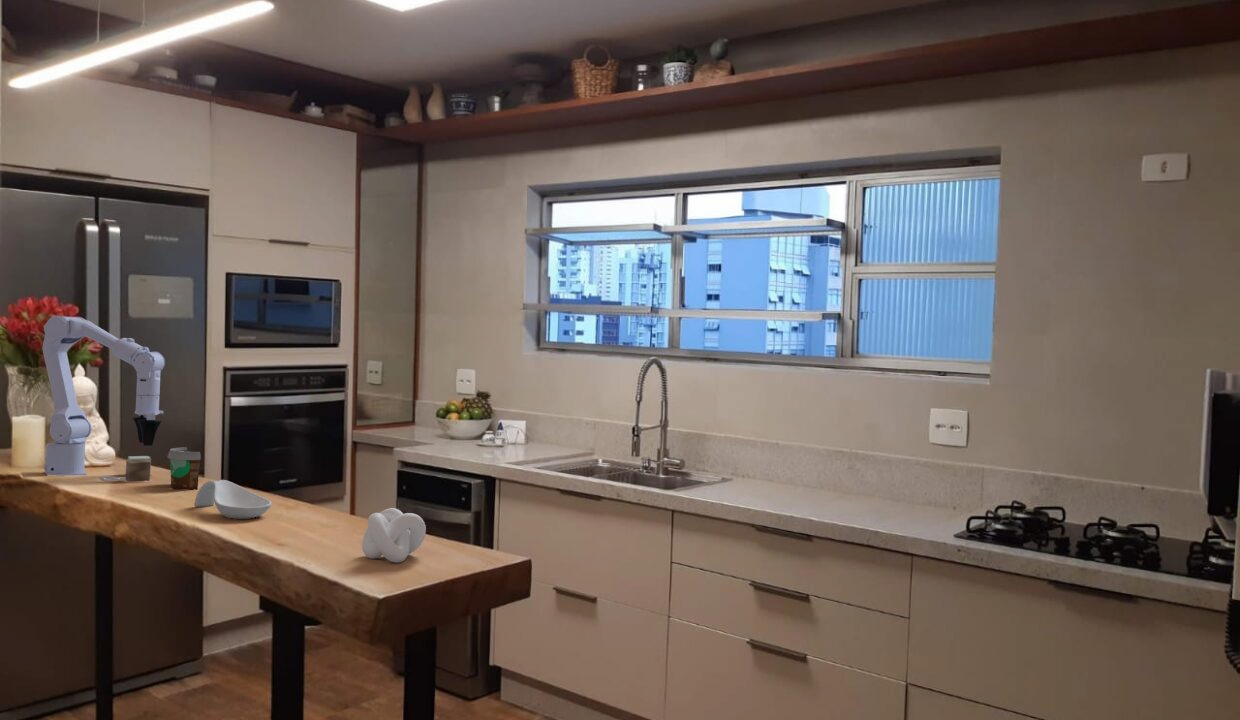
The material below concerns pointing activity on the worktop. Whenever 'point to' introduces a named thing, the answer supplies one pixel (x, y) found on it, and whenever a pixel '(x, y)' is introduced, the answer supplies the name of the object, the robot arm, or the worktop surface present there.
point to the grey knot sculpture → (393, 535)
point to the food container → (184, 468)
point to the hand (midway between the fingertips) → (145, 443)
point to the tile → (112, 478)
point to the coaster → (136, 481)
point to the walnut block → (138, 470)
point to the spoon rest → (231, 500)
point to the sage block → (140, 458)
